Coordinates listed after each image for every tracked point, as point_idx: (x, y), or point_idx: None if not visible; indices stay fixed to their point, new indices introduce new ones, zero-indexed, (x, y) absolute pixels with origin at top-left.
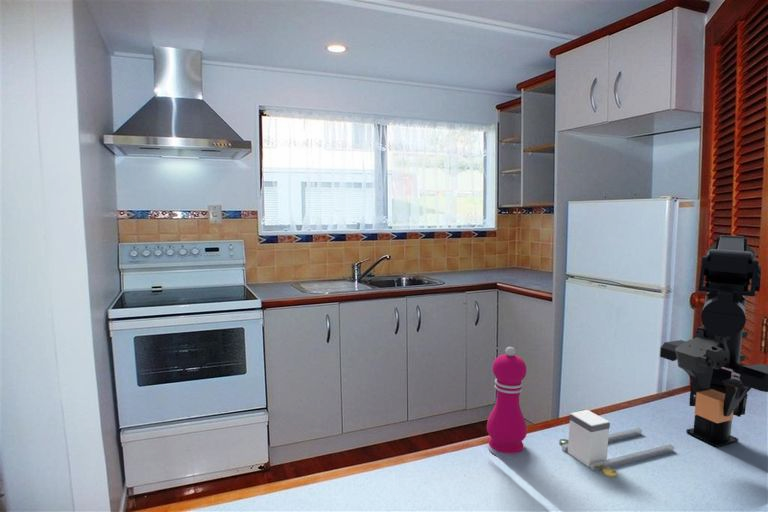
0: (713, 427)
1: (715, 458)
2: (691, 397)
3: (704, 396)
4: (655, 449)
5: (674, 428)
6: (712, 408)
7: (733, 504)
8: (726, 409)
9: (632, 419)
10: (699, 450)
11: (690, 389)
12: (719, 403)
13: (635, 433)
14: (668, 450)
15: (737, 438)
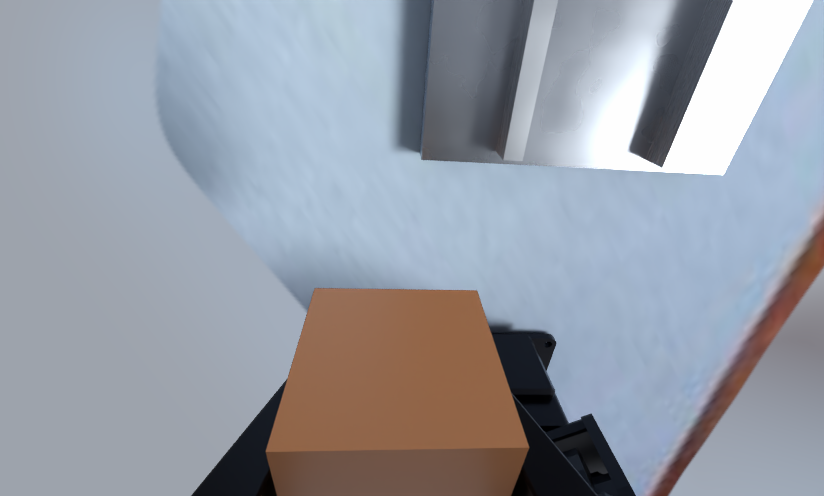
0: None
1: (415, 274)
2: (603, 450)
3: (436, 434)
4: (536, 40)
5: (587, 328)
6: (349, 360)
7: (166, 28)
8: (271, 413)
9: (716, 267)
10: (470, 276)
11: (632, 489)
12: (275, 424)
13: (672, 123)
14: (505, 122)
15: None
